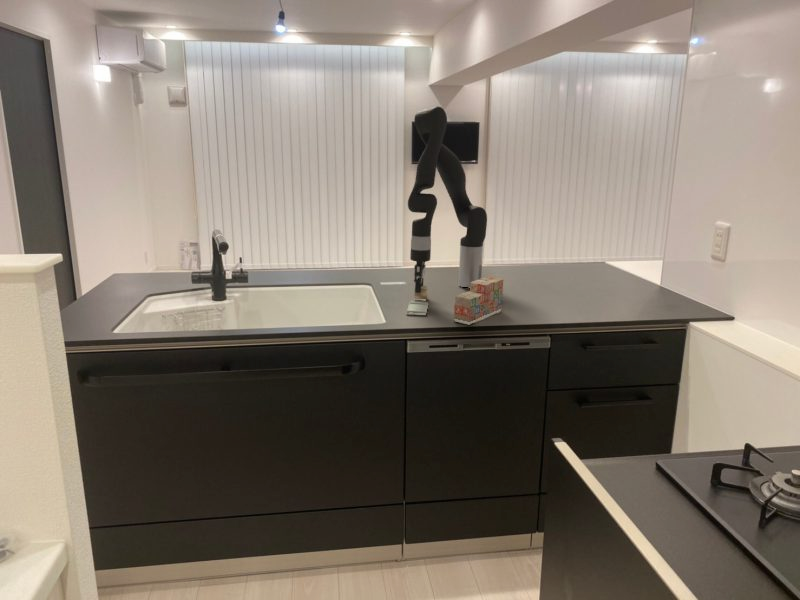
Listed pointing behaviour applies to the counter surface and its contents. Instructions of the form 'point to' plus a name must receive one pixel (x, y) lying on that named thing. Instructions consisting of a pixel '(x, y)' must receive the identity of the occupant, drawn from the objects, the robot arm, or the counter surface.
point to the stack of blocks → (479, 299)
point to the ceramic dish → (417, 307)
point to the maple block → (422, 293)
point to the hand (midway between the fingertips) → (419, 289)
